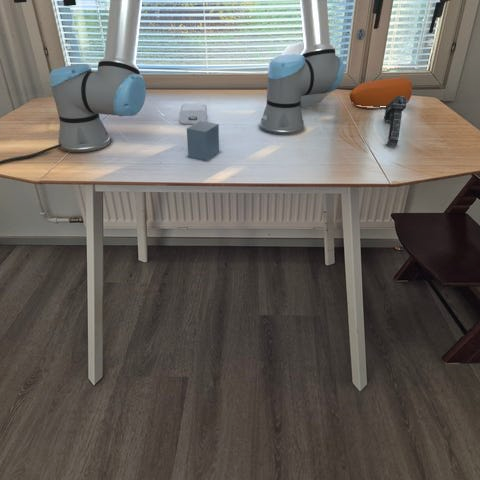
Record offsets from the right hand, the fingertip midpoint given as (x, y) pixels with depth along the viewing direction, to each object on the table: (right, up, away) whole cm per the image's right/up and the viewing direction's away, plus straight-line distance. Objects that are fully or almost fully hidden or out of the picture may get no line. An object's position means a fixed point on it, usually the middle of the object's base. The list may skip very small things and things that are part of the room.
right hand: (402, 30), depth 105 cm
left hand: (-83, -5, -20) cm, 86 cm away
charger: (-59, -8, +47) cm, 76 cm away
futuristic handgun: (+10, -18, +35) cm, 41 cm away
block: (-53, -28, +19) cm, 63 cm away
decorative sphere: (-17, +1, +62) cm, 64 cm away
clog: (+14, +1, +62) cm, 64 cm away
